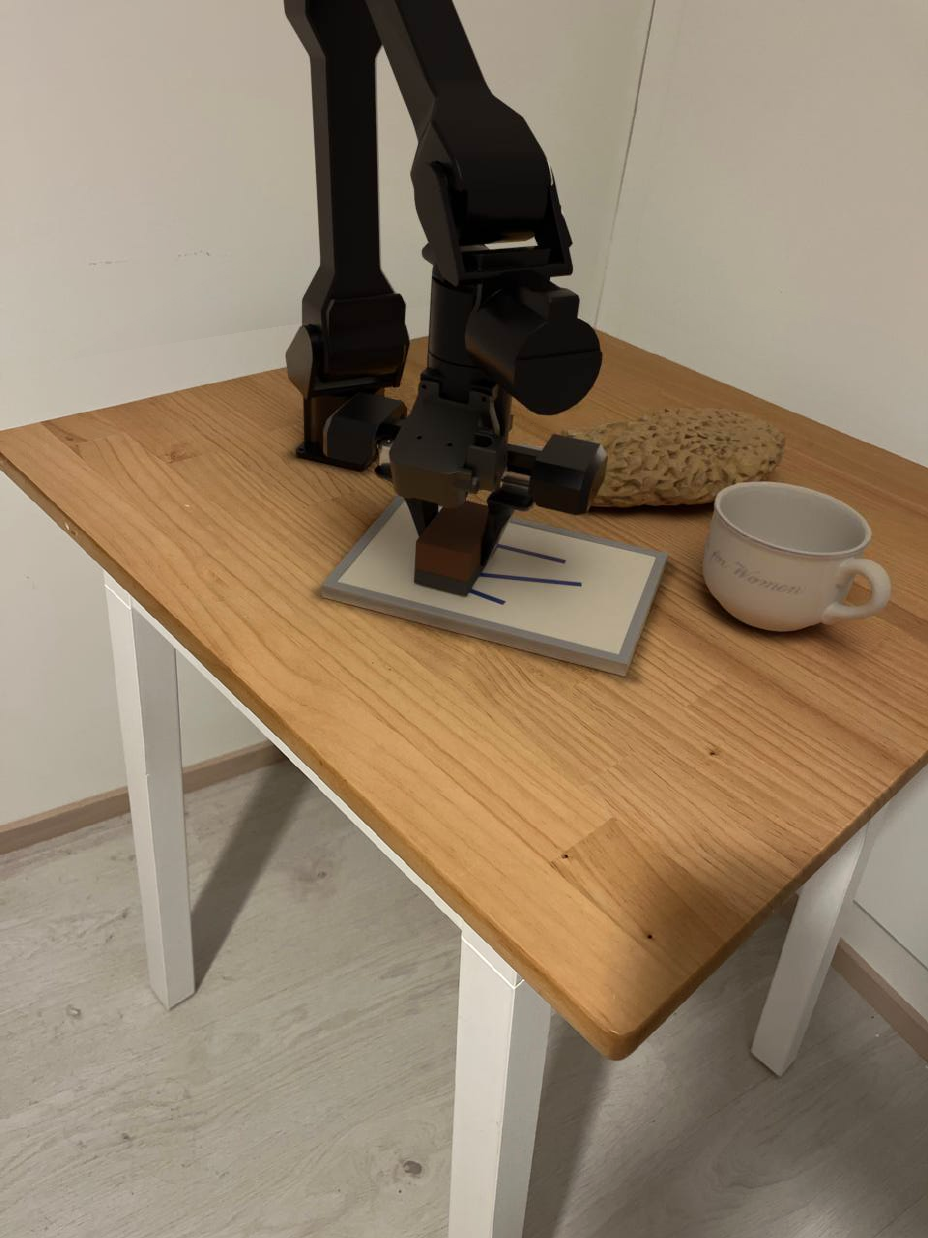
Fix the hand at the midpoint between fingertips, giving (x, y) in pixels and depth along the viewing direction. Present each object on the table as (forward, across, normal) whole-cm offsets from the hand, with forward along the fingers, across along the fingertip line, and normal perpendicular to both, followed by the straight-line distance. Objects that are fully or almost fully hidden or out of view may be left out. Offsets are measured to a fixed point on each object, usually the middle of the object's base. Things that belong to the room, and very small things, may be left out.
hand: (456, 556), depth 78 cm
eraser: (+1, 0, 0) cm, 1 cm away
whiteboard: (+2, +3, +1) cm, 4 cm away
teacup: (+2, +23, +6) cm, 24 cm away
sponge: (+2, +12, +22) cm, 25 cm away
